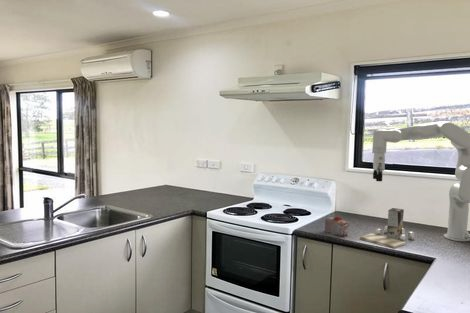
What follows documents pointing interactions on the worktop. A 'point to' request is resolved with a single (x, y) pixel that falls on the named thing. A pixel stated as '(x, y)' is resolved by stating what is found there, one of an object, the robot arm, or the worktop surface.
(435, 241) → the worktop surface
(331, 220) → the food item
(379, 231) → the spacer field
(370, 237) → the board
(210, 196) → the worktop surface
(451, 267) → the worktop surface
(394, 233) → the coffee box
